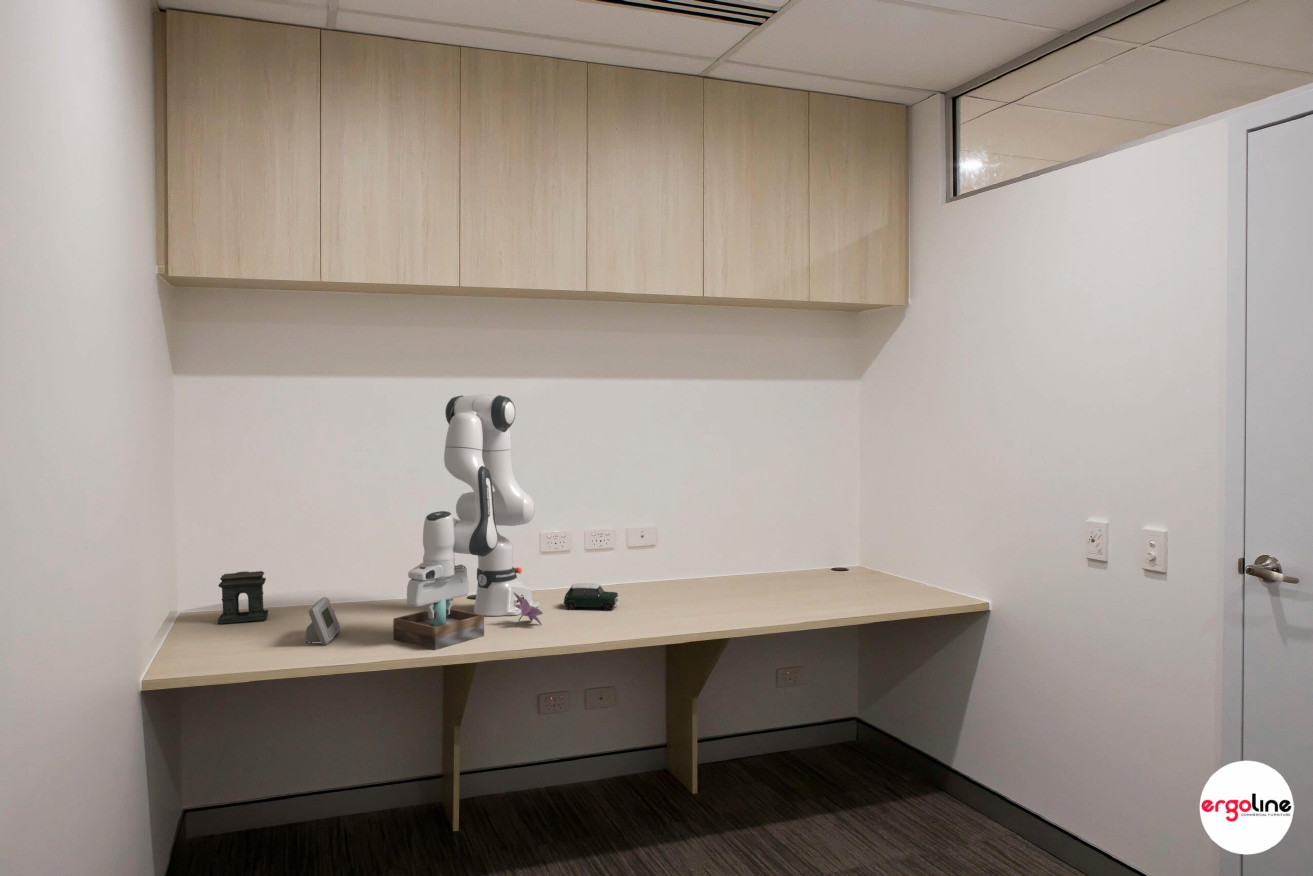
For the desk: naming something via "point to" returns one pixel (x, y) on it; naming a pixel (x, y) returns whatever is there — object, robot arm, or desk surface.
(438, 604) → the peg
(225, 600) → the model
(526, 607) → the lily
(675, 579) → the desk surface
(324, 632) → the digital clock
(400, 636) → the bore box
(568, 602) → the miniature car
